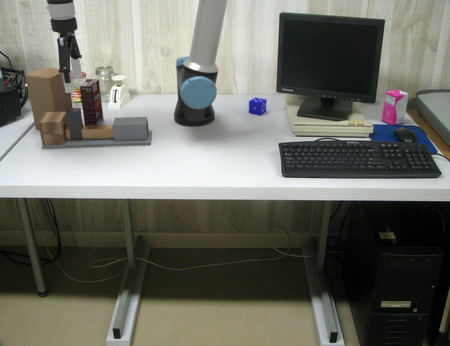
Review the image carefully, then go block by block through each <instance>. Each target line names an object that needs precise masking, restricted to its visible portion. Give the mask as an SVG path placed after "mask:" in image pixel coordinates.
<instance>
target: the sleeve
mask: <svg viewBox="0 0 450 346" xmlns="http://www.w3.org/2000/svg"><path fill="white" fill-rule="evenodd" d="M148 119H149V118H148V116H135V117H134V116H128V117H127V116H126V117H114V119H113V121H112V124H111V125H112V128H113V136H114V141H145V140H148V137H147V134H149V130H150V129H149V120H148Z"/></svg>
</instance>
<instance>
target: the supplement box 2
mask: <svg viewBox="0 0 450 346" xmlns="http://www.w3.org/2000/svg"><path fill="white" fill-rule="evenodd" d="M408 98H409V93H408V92H405V91H403V90H399V89H392V90H389V91H385V94H384V101H383V108H382V117H381V122H383V123H385V124H387V125H388V126H391V127H395V126H398V125H399V126H400V125H404V124H405V119H406V112H407V111H406V110H407V106H408Z"/></svg>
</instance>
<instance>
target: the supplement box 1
mask: <svg viewBox="0 0 450 346" xmlns="http://www.w3.org/2000/svg"><path fill="white" fill-rule="evenodd" d="M79 91H80V92H79V93H80V100H81V107H82V113H83V114H82V117H83V122H84V123H83V125H84V126H90V125H102V124H103V122H104V113H103V112H104V111H103V103H102V96H101V87H100V79H96V78H86V80H85V81H83V83H82V84H81V85H79Z"/></svg>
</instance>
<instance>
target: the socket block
mask: <svg viewBox="0 0 450 346" xmlns="http://www.w3.org/2000/svg"><path fill="white" fill-rule="evenodd" d="M38 125H39V129H38V130H39V133H40V135H39V136H40V139H41V143H42V144H41V146H42V145H64V144H65V142H66V141H65V135H64V127H65V126H68V121H67V115H66V112H45V113H44V115H43V116H42V118H41V119H40V121H39V122H38Z"/></svg>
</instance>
